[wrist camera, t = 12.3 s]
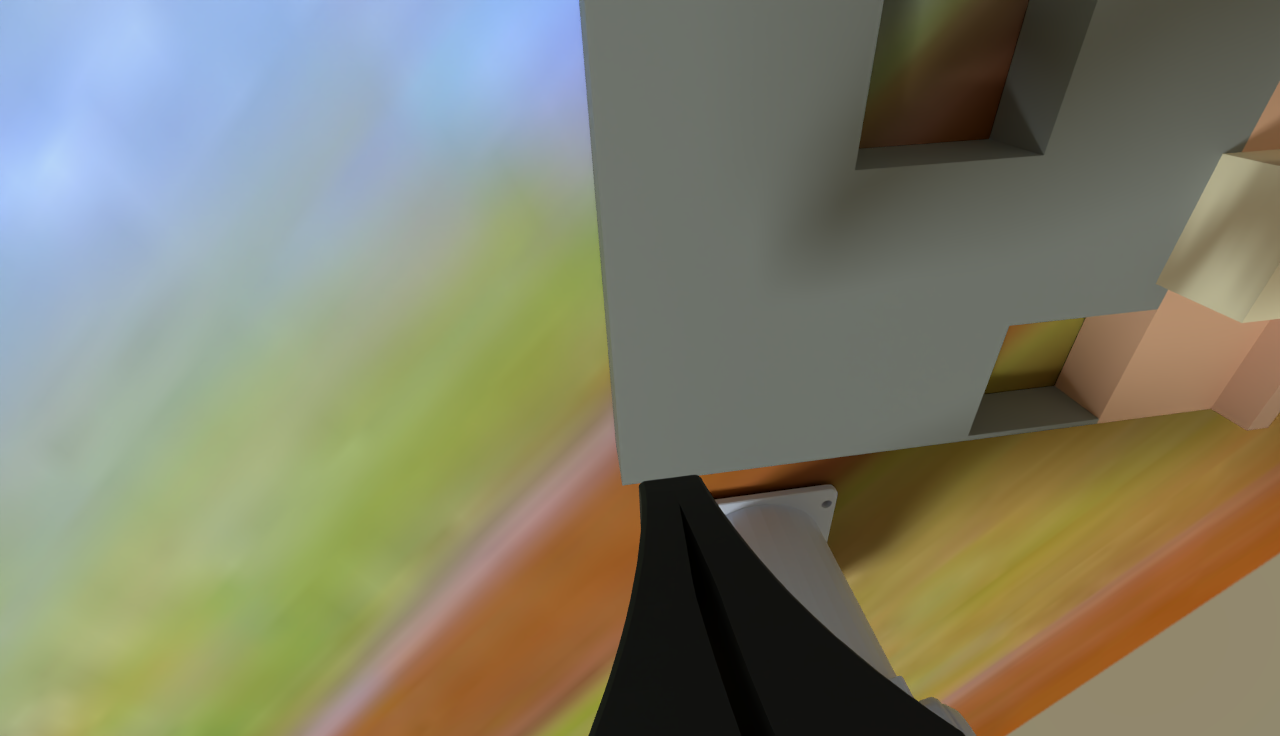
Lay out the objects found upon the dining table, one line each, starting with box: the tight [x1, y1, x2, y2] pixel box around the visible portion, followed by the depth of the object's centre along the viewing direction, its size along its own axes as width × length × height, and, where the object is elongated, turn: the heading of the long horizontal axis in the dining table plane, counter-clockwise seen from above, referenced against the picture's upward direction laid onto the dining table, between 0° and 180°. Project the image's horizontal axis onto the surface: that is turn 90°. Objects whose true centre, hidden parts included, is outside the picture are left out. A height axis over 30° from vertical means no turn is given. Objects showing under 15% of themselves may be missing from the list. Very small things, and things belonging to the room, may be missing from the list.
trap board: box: [579, 0, 1280, 485], centre depth 19 cm, size 17×27×4 cm, turn 92°
